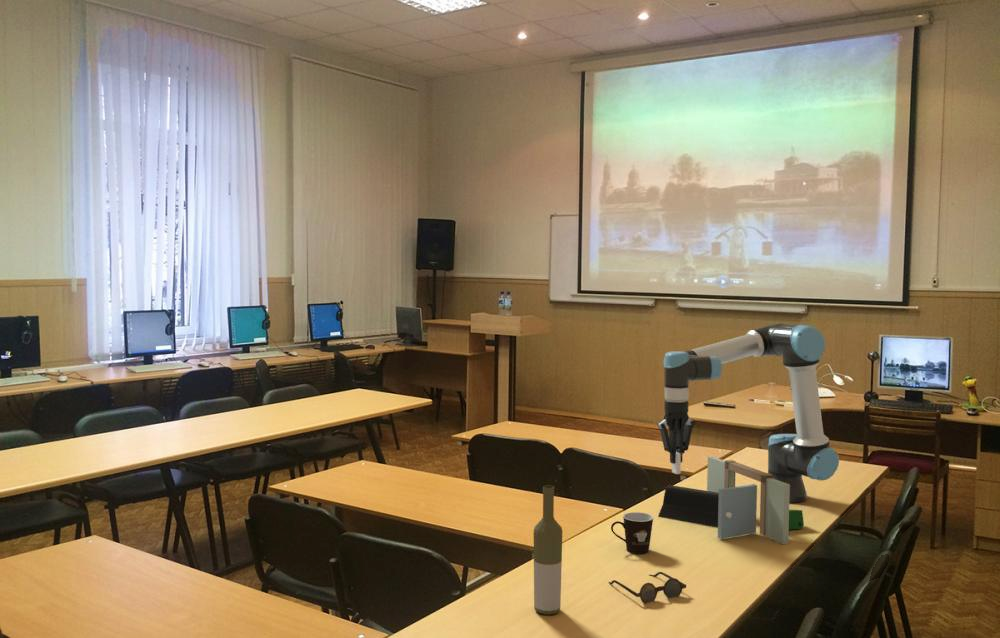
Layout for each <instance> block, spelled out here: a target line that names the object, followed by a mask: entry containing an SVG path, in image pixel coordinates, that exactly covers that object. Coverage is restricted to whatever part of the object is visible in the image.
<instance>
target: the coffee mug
mask: <svg viewBox="0 0 1000 638" xmlns="http://www.w3.org/2000/svg"><path fill="white" fill-rule="evenodd" d="M622 519H623V522H622V521H619V520H617V521H614V522H612V524H611V525H610V526H611V527H610V530H611V532H612V534H614V536H615V537H617V538H619V539H620V540H621V541H623V542H624V543H625V548H626V551H627V552H628V553H630V554H633V555H646V554H648V553H650V552H649V551H650V544H651V536H652V530H653V524H654V523H653V522H654V516H653V515H651V514H649V513H645V512H639V511H636V512H635V511H633V512H626V513H624V514H623V516H622ZM617 524H620V525H621V526H622V527H623V529H624V536H625V537H622V536H620V535H618V534H617V533H616V532H615V530H614V526H615V525H617Z"/></svg>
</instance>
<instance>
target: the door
mask: <svg viewBox="0 0 1000 638" xmlns="http://www.w3.org/2000/svg"><path fill="white" fill-rule="evenodd" d="M757 500H758V485H757V484H746V485H738V486H735V487H731V488H724V489H719V502H718V528H717V539H720V540H723V539H729V538H735V537H740V536H741V537H742V536H746V535H751V534H756V533H757V509H758V508H757V507H758V506H757V502H758V501H757Z"/></svg>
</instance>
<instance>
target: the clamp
mask: <svg viewBox="0 0 1000 638" xmlns="http://www.w3.org/2000/svg"><path fill="white" fill-rule="evenodd" d="M804 525H805V524H804V515H803V510H801V509H789V530H790V531H791V530H798V529H799V530H800V529H803V528H804Z"/></svg>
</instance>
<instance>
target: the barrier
mask: <svg viewBox="0 0 1000 638" xmlns="http://www.w3.org/2000/svg"><path fill="white" fill-rule="evenodd" d="M718 502H719V493H717V492H711V491H707V490H705V489H704V490H703V489H697V488H691V487H684V486H677V485H674V484H673V485H671V484H669V485H667V486H666V487H665V489H664V495H663V500H662V505H661V508H660V509H659V510H660V511H659V513H658V514H657V515H658V516H657V517H658V518H662V519H669V520H673V521H680V522H684V523H689V524H696V525H700V526H706V527H711V528H717V529H718Z"/></svg>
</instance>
